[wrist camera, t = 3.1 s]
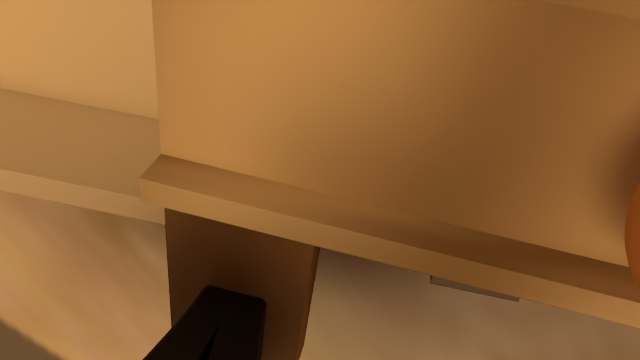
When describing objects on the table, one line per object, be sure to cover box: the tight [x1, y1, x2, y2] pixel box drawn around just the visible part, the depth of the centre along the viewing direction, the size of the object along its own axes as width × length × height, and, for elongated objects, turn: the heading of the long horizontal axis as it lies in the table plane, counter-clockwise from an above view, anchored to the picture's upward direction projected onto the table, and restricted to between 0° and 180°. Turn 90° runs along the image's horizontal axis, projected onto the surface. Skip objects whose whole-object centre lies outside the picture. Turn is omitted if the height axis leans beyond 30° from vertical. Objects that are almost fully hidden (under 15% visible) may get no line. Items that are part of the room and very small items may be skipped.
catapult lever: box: [139, 0, 640, 360], centre depth 9 cm, size 12×10×3 cm
